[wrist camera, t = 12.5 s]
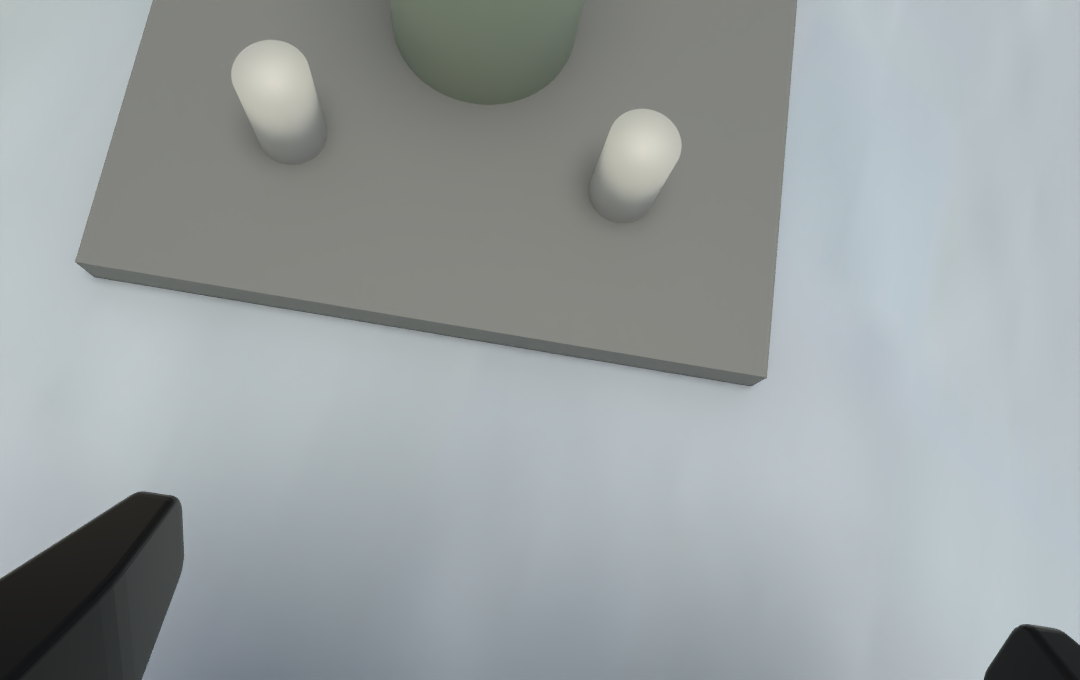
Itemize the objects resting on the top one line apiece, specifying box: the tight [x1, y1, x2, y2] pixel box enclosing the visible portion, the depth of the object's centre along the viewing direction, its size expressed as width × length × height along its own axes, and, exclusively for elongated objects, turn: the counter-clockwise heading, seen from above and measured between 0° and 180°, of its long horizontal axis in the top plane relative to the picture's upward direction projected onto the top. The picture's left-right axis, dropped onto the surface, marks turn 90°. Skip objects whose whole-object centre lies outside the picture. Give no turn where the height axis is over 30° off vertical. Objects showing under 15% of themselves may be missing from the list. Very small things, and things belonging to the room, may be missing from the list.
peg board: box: [75, 0, 797, 386], centre depth 24 cm, size 18×18×4 cm
